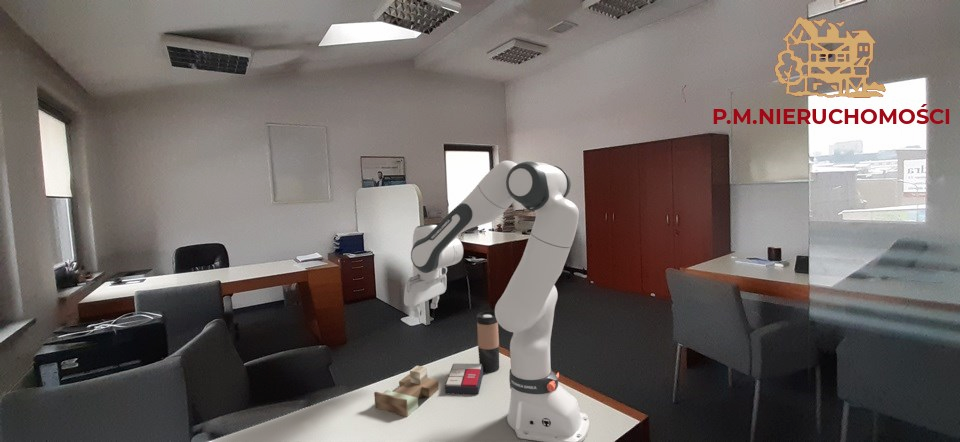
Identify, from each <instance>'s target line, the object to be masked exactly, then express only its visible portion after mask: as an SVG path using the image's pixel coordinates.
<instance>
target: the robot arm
mask: <svg viewBox="0 0 960 442" xmlns="http://www.w3.org/2000/svg"><path fill="white" fill-rule="evenodd" d="M571 185H572V184H571V179H570V176H569V175H568V173H567V172H566V171H565V170H564V169H562V167H559V166H557V165H552V164H551V165H550V164H548V163H547V162H546V163H545V162H539V161H535V162H533V161H523V162H519V163H517V162H515V161H512V160H502V161H500V162H499V163H497V164H496V165H495V166H494V167H493V168H492V169H491V170H489V171H488V172H487V173H486V175H484V177H482V178H481V180H480V181H479V182H478V184H477V185H476V186H475V187H474V189H472V190H471V192H470V193H469V194H468V195H467V196H466V197H465V198H464V199H463V200H462V201H461V202H460V203H459V204H457V206H456V207H454V208H453V209H452V210H451V211H450V212H448V214H447V215H446V216H445V217H444V218H443V219H442V220H441V221H440V222H439V223H438V224H436V223H430V224H422V225H421V224H420V225H418V226H416V227H415V228H414V230H413V234H412V248H411V251H410V259H411V262H412V276H411V277H409V278H408V280H407V282H406V284H405V286H404V293H403V304H404V306H406V307H409V308H412V310H413V312H414V313H413V315H414V317H416V318H419V317H421V316H422V310H420V307H421V304H423V303H425V302H427V301H429V300H432V301H431V303H430V309H433V310H435V309H436V308H438V303H439V300H440V295H443V294H444V293H445V292H447V291H446V290H447V281H448V280H447V272H448V267H449V266H453V265H456V264H458V263H460V262H461V261H462V259H463V257H464V252H465V251H464V249H465V248H464V245H463V242H462V241H461V240H460V238H458V237H459V235H461V234H462V233H463V232H464V233H465V231H467V230H469V229H473V228H475V227H478V226H482V225H485V224H489V223H492V222H494V221H495V220H496V219H497V218H499V217H500V216H502V215H503V214H504V213H505V212H506V211H508V210H507V209H509V207H510V206H511V205H512V204H513V203H514V201H516V202H518V203H519V204H520V205H522V206H523V207H524V208H525V209H526V210H527V211H529V212H535V220H534V223H533V225H532V229H531V231H530V234H529V237H528V240H527V242H526V246H525V249H524V251H523V253H522V254H523V255H522V257H521V259H520V261H519V263H518V265H517V267H516V269H515V271H514V272H513V275H512V276H511V278H510V280H509V282H508V284H507V286H506V287H505V290H504V292H503V293H502V295H501V297H500V298H499V299H498V300H497V302H496V304H495V305H494V306H495V307H494V312H495V316H496V319H497V321H498V325H499V326H500V327H501V328H502V329H503V330H505V331H507V332H509V333H512V336H511V339H510V343H509V353H510V354H509V356H510V369H509V379H508V380H509V388H510V399H509V400H510V401H509V408H508V413H507V416H506V420H507V423H508V425H509V427H511V428H512V429H513V430H514V431H515V435H516V436H517V438H519V439H521V440H530V441H537V442H583V441H584V439H586V437H587V435H588V433H589V431H590V430H589V429H590V420H589V417H588V415H587V413H585V412H581V409H580V405H579V402H578V400H577V398H576V397H575V396H574V395H572V394H571V393H569V391H567V389H565V388H564V387H563V386H561V385H560V384H559V378H560V372H557V373H556V374H555V372H554V371H553V370H552V368H551V338H552V330H553V324H554V317H555V308H556V305H557V301H558V295H559V294H558V290H557V287H556V285H555V284H556V283H557V281H558V279H559V277H560V276H561V274H562V273H563V270H564V266H565V264H566V262H567V259H568V256H569V253H570V251H571V248H572V245H573V243H574V239H575V236H576V233H577V230H578V229H577V228H578V223H579V220H580V219H579V218H580V217H579V216H580V211H579V209H578V206H577V204H576V203H574V202H573V201H571V200H569V199H567V198H566V197H567V196H568V195H569V193H570V190H571Z"/></svg>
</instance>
